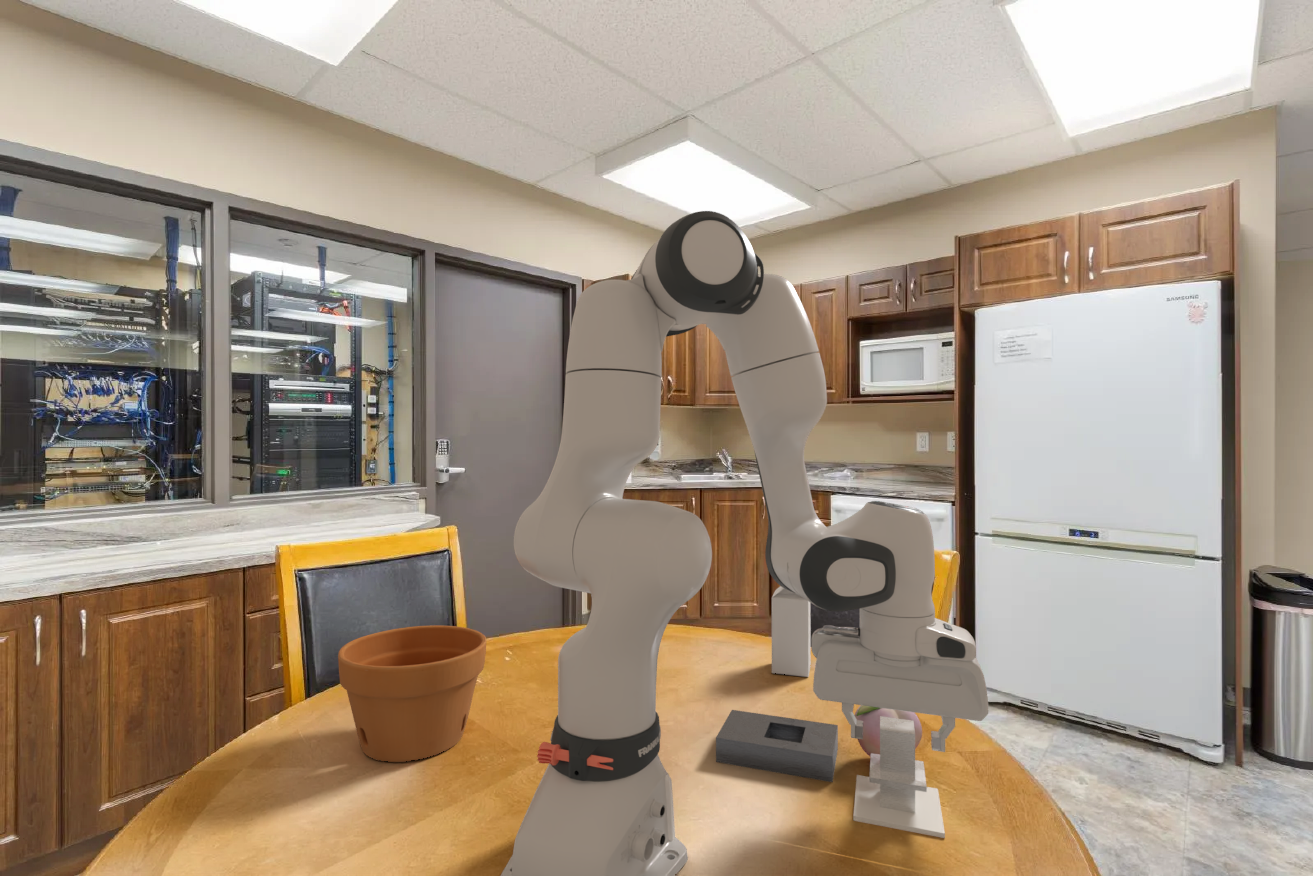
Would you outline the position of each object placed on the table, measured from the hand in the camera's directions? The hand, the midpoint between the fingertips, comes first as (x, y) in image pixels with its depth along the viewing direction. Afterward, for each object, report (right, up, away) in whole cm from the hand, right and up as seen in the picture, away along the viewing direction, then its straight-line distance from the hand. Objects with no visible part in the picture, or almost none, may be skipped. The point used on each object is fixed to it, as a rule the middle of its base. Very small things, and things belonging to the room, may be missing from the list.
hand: (896, 743), depth 79 cm
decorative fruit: (+2, -8, +11) cm, 14 cm away
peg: (0, -7, 0) cm, 7 cm away
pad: (0, -8, 0) cm, 8 cm away
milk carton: (-3, -9, +48) cm, 49 cm away
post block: (-12, -8, +13) cm, 20 cm away
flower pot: (-67, -8, +18) cm, 70 cm away
